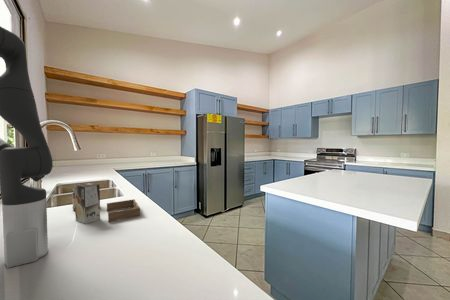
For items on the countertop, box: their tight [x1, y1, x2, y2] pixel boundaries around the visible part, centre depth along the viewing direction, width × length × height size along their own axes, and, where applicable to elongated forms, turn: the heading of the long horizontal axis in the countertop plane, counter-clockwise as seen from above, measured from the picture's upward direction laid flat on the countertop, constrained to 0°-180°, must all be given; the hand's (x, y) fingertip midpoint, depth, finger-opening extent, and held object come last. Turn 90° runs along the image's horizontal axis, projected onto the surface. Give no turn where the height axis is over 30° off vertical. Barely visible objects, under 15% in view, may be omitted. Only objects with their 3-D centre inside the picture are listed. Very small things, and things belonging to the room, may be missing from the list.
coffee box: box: [73, 182, 101, 225], centre depth 87 cm, size 9×6×16 cm
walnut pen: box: [106, 199, 141, 223], centre depth 94 cm, size 17×13×4 cm
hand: (41, 178), depth 78 cm, fingers open, 5 cm apart
